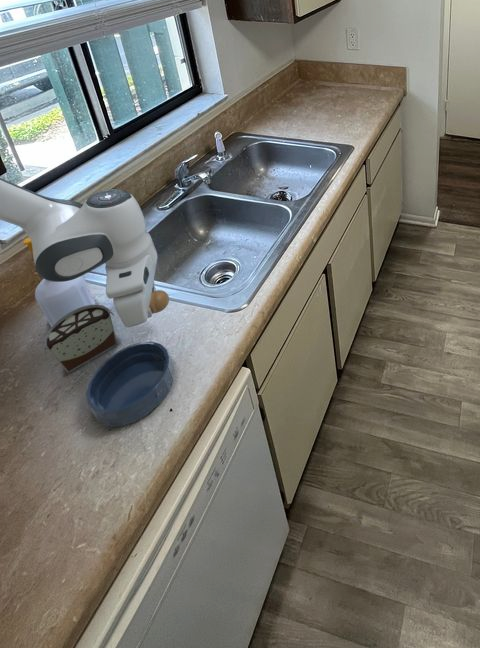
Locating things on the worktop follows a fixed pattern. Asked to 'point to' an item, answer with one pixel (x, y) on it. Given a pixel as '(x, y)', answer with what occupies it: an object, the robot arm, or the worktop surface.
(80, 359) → the cake slice
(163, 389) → the bowl
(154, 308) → the potato
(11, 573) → the worktop surface
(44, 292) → the soap bottle
